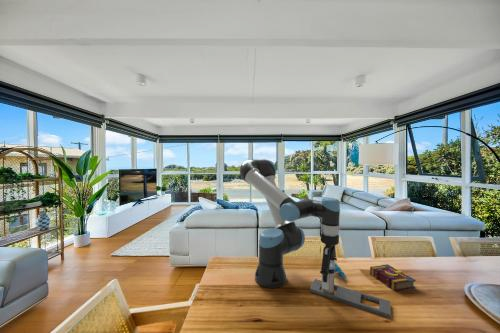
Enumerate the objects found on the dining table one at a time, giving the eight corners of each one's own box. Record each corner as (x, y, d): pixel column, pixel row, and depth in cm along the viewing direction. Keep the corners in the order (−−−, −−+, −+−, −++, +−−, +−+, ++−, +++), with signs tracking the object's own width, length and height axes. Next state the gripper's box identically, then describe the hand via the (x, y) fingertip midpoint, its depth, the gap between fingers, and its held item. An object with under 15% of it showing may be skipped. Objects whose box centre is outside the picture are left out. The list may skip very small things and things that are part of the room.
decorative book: (395, 292, 95) (395, 281, 95) (367, 273, 111) (367, 264, 111) (415, 289, 98) (415, 278, 98) (385, 271, 113) (385, 262, 113)
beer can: (320, 288, 97) (321, 262, 96) (330, 287, 97) (331, 261, 97) (325, 294, 92) (326, 267, 92) (336, 294, 92) (336, 267, 92)
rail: (309, 291, 94) (309, 288, 94) (315, 281, 102) (315, 278, 102) (390, 318, 79) (391, 314, 79) (389, 304, 86) (390, 301, 86)
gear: (348, 279, 101) (333, 262, 104) (339, 287, 102) (324, 269, 105) (345, 271, 112) (330, 255, 115) (336, 278, 113) (322, 262, 115)
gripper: (333, 244, 81) (332, 299, 82) (343, 227, 102) (341, 271, 103) (313, 240, 85) (312, 292, 86) (327, 224, 106) (325, 266, 107)
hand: (328, 281), depth 94 cm, fingers open, 13 cm apart
